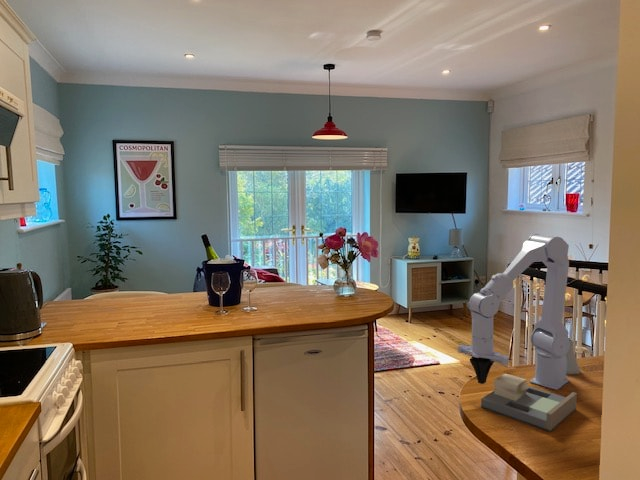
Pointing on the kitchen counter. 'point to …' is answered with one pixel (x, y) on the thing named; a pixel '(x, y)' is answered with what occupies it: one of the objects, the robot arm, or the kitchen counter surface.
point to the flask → (571, 360)
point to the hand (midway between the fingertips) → (482, 382)
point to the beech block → (510, 386)
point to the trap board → (533, 407)
